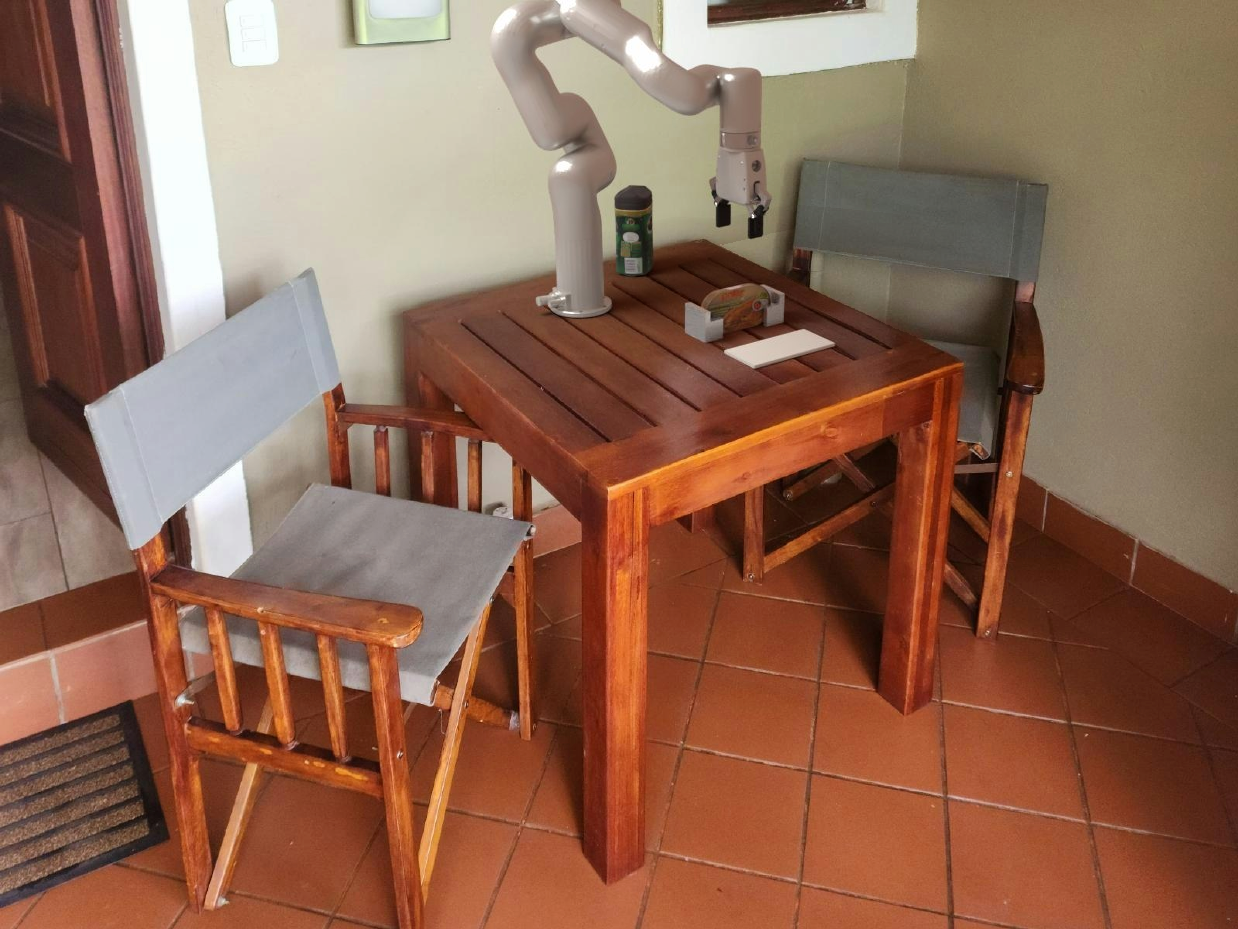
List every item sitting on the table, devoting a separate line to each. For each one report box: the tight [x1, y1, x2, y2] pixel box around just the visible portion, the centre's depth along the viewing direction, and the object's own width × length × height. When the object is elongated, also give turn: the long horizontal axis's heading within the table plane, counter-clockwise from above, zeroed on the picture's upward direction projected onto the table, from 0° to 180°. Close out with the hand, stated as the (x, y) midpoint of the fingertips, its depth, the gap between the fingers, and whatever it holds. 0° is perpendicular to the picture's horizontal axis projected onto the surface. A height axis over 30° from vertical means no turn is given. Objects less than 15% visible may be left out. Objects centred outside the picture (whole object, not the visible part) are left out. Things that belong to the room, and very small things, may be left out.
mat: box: [723, 328, 836, 369], centre depth 219 cm, size 19×9×1 cm, turn 122°
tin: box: [700, 282, 771, 334], centre depth 228 cm, size 15×3×8 cm, turn 117°
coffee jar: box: [613, 184, 655, 277], centre depth 258 cm, size 10×8×19 cm
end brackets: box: [684, 284, 785, 344], centre depth 228 cm, size 7×19×6 cm, turn 122°
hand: (739, 231), depth 221 cm, fingers open, 9 cm apart
